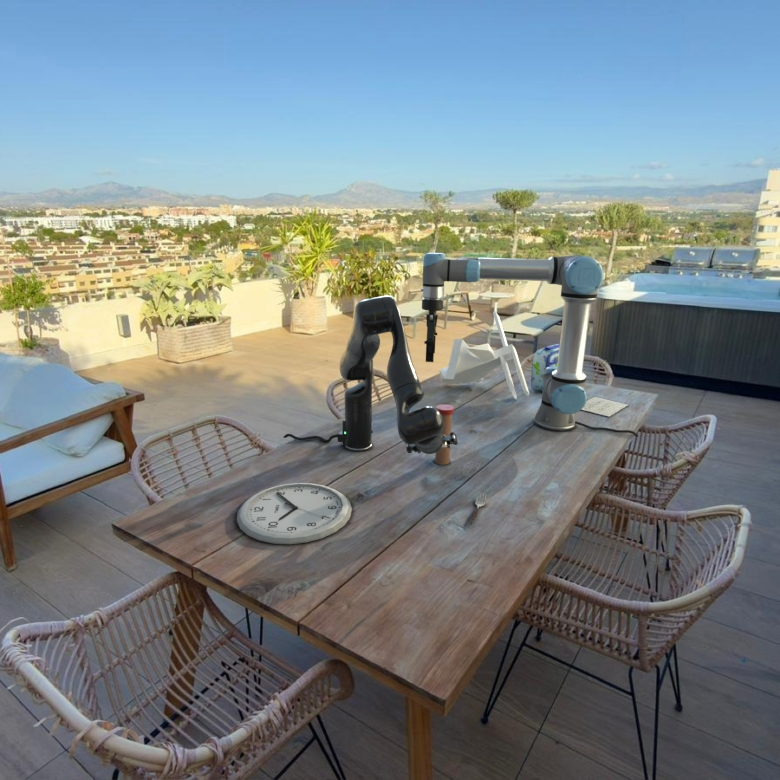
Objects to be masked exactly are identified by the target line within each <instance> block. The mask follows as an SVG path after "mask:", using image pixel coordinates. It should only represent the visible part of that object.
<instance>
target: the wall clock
mask: <svg viewBox="0 0 780 780" xmlns="http://www.w3.org/2000/svg"><path fill="white" fill-rule="evenodd" d="M352 511H353V508H352V505H351V501H350V500H349V499H348V497H346V495H345V494H344V493H342V492H340V491H338V490H336V489H335V488H332V487H329V486H327V485H324V484H318V483H310V482H295V483H285V484H280V485H275V486H271V487H270V488H266V489H263V490H261V491H259V492H258V493H257V492H256V493H255V494H254V495H252V496H250V497H249V498H248V499H247V500H245V502H243V503H242V504H241V505H240V507H239V509H238V511H237V515H236V523H237V525H238V528H239V530H241V531H242V532H243V533H244V534H246V535H247V536H249V537H250V538H252V539H255V540H257V541H260V542H263V543H264V542H265V543H267V544H268V543H269V544H274V545H296V544H297V545H298V544H305V543H309V542H314V541H318V540H321V539H323V538H326V537H328V536H330V535H332V534H335V533H336V532H337V531H339V530H340V529H342V528H343V527H344V526H345V525H346V524H347V523H348V521H349V520H350V519H351V516H352Z"/></svg>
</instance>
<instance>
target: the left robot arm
mask: <svg viewBox="0 0 780 780" xmlns="http://www.w3.org/2000/svg"><path fill="white" fill-rule="evenodd" d="M352 318H353V319H352V327H351V330H350V334H349V337H348V339H347V343H346V346H345V350H344V351H343V353H342V355H341V357H340V360H339V373H340V376H341V378H342V379H343V380H345V381H360V382H358V383H357V384H355V385H354V386H352V387H351V386H350V387H349V388H347V389H346V390H345V391H344V419H343V420H342V427H341V428H342V429H341V431H339V432H338V433H337V434H333V435H331V436H329V438H328V439H325V438H324V437H322V436H320V435H309V436H305V437H304V436H303V437H299V436H296V435H294V434H292V433H286V434H284V436H283V439H285V438H289V437H290V438H292V439H294V440H296V441H308V440H313V439H316V440H319V441H322V442H323V443H330V442H331V441H332V440H333V439H335V438H337V442H338V443H342V447H343V448H345V449H346V450H349V451H353V452H364V451H367V450H370V449H371V448H372V446H373V442H372V441H373V440H372V435H373V434H374V431H373V429H372V428H373V427H372V426H373V425H372V424H373V422H372V421H373V420H372V419H373V378H374V377H373V375H374V359H375V357H376V356H377V353H378V351H379V349H380V346H381V337H380V335H382V334H386V333H391V336H392V347H391V352H390V355H389V358H388V362H387V367H386V377H387V381H388V385H389V387H390V391H391V393H392V395H393V398H394V402H395V407H396V419H397V424H396V425H397V433H398V436H399V438H400V439H401V441H403V443H404V444H405V450H406V452H407V454H412V453H413V452H414V453H418V454H421V453H423V454H426V455H433V454H436V452H437V451H439V450H440V449H441V448H444V447H447V448H450V449H451V447H452V446H453V445H454V446H457V445H458V437H457V434H456V433H455V432H453V431H451V433H450V434H449V436H447V437H446V436H445V435H442V431H443V419H442V416H441V414H440V412H439V411H438V410H437V409H436V406H432V405H427V406H424V407H421V408H419V409H416V410H414V411H411V412H410V410H411V409H412V408H413V407H414V406H416V405H417V404H418V403H420V402H421V401H422V400H423V398H424V396H425V393H424V389H423V386H422V384H421V381H420V379H419V377H418V373H417V372H416V368H415V366H414V363H413V360H412V356H411V352H410V347H409V343H408V339H407V335H406V331H405V327H404V322H403V318H402V315H401V311H400V308H399V306H398V303H397V301H396V300H395V298H394V297H393V296H391V295H381V296H377V297H371V298H367V299H366V298H365V299H363V300H360V301H358V302H357V303H356V305H355V307H354V311H353V317H352Z"/></svg>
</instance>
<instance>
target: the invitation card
mask: <svg viewBox="0 0 780 780" xmlns="http://www.w3.org/2000/svg"><path fill="white" fill-rule="evenodd" d="M628 406H629V404H627V403H623V402H618V401H614V400H609V399H605V398H601V397H596V396H593V397H592V398H590V399H587V401H586V404H585V406H584V407H583V408H582V409H581V410H580V411H584V412H587V413H593V414H596V415H600V416H604V417H608V418H609V417H611V416H613V415H614V414H616V413H617V412H619V411H621V410H623V409H624V408H626V407H628Z"/></svg>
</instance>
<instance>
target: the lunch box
mask: <svg viewBox="0 0 780 780" xmlns="http://www.w3.org/2000/svg"><path fill="white" fill-rule="evenodd" d="M559 346H560V343H555V344H552V345H547V346H545V347H542V348H539V349H537V350H536V351H535V353H534V355H533V358H532V363H531V364H532V365H531V376H530V377H531V378H530V387H531V389H532V390H536V391H539V392H540V391H541V392H543V382H544V373H545V369H546V368H547V367H553V366H557V364H558V355H559Z"/></svg>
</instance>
